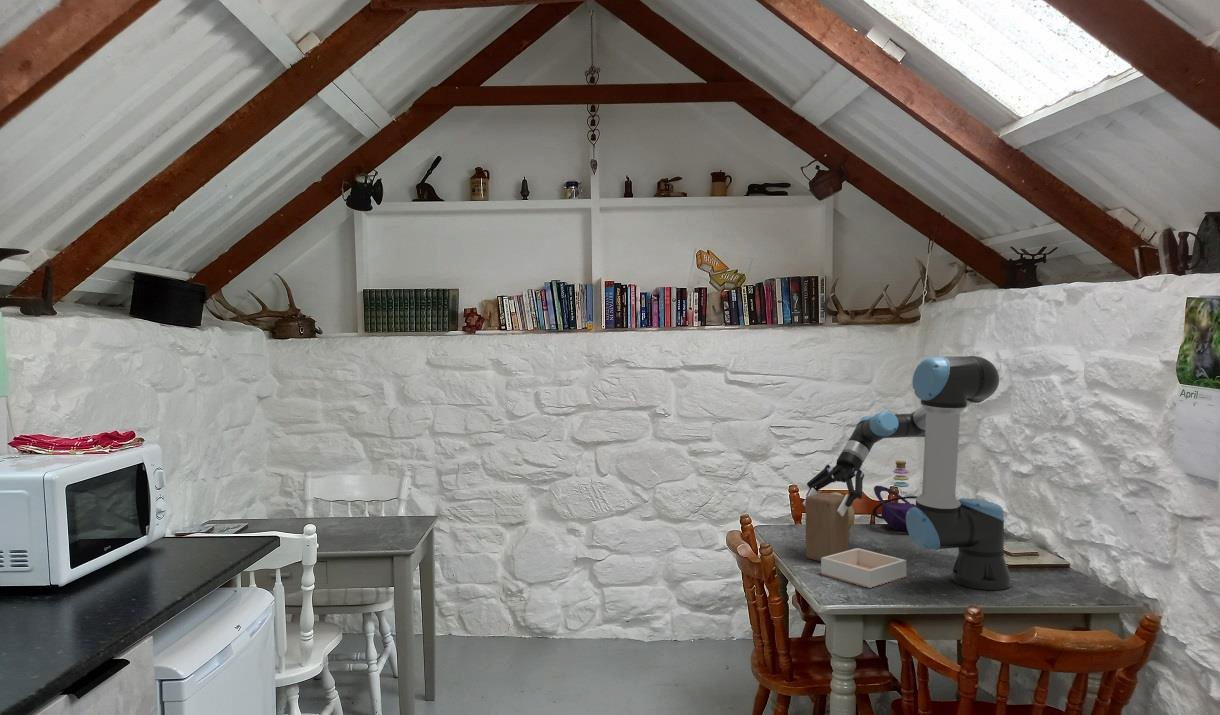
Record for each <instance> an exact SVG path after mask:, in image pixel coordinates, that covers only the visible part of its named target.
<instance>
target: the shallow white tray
mask: <svg viewBox="0 0 1220 715" xmlns="http://www.w3.org/2000/svg"><path fill="white" fill-rule="evenodd" d="M820 564H821V566H820V567H821V569H820V572H821V575H822V576H825V577H829V578H833V579H836V580H838V579H839V581H842V582H846V583H850V584H852V583H854V584H853V585H855V584H856V585H855V586H859V585H860V586H859V587H862V586H863V587H862V588H865V587H868V588H867V589H869V588H872V587H875V586H878V585H881V586H883V585H882V584H884V585H886V584H885V583H887V584H889V583H888V582H890V583H892V582H891V581H893V582H896V581H895V580H897V579H900V580H902V579H901V578H903V579H905V578H904V577H906V578H907V560H906V559H903V558H900V557H899V558H898V557H895V556H892V555H887V554H883V553H880V552H879V553H878V552H875V551H871V550H868V549H862V548H859V547H857V548H853V549H849V550H848V551H844V552H841V553H837V554H833V555H829V556H826V557H822V558H821V561H820ZM897 581H898V580H897ZM878 587H879V586H878ZM875 588H876V587H875ZM872 589H873V588H872Z"/></svg>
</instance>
